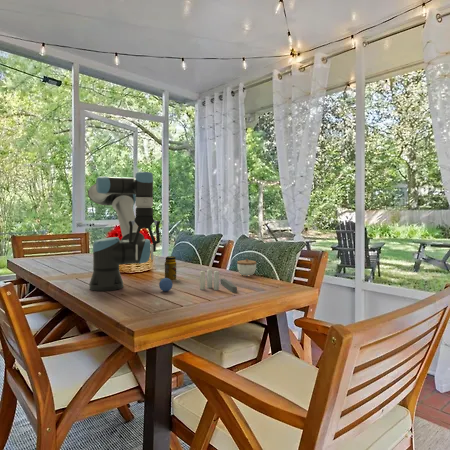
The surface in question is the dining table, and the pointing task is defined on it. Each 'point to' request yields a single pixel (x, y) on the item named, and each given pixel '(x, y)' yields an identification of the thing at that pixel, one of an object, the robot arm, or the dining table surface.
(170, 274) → the condiment
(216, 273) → the back pin right
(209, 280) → the back pin left
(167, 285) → the ball
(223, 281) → the stopper bar
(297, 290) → the dining table surface
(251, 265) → the lidded jar
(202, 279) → the front pin
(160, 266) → the dining table surface
